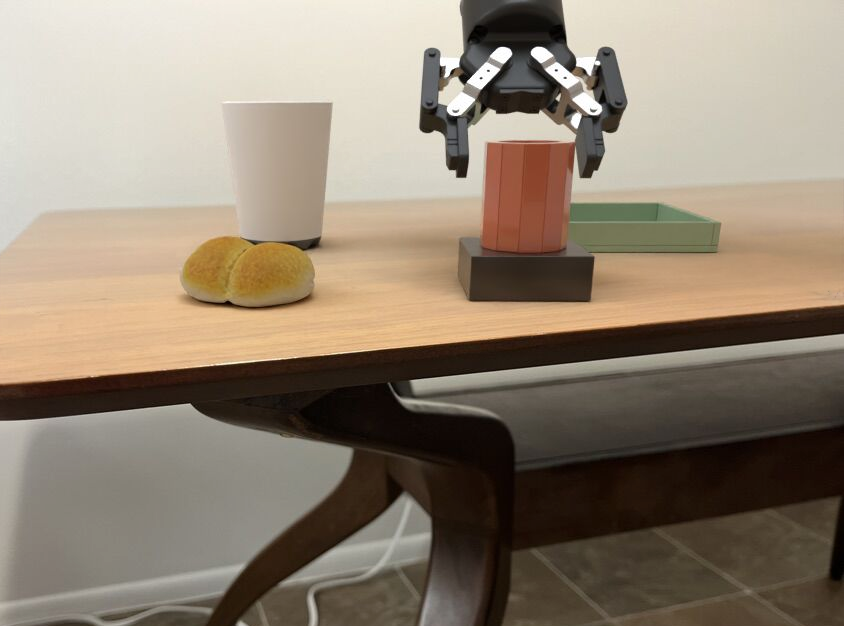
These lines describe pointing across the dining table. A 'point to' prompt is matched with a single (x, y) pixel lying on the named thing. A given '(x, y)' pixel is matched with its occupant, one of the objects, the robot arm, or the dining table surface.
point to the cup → (279, 168)
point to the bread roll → (247, 273)
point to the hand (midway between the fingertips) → (525, 170)
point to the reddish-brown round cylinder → (526, 195)
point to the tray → (640, 228)
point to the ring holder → (525, 273)
